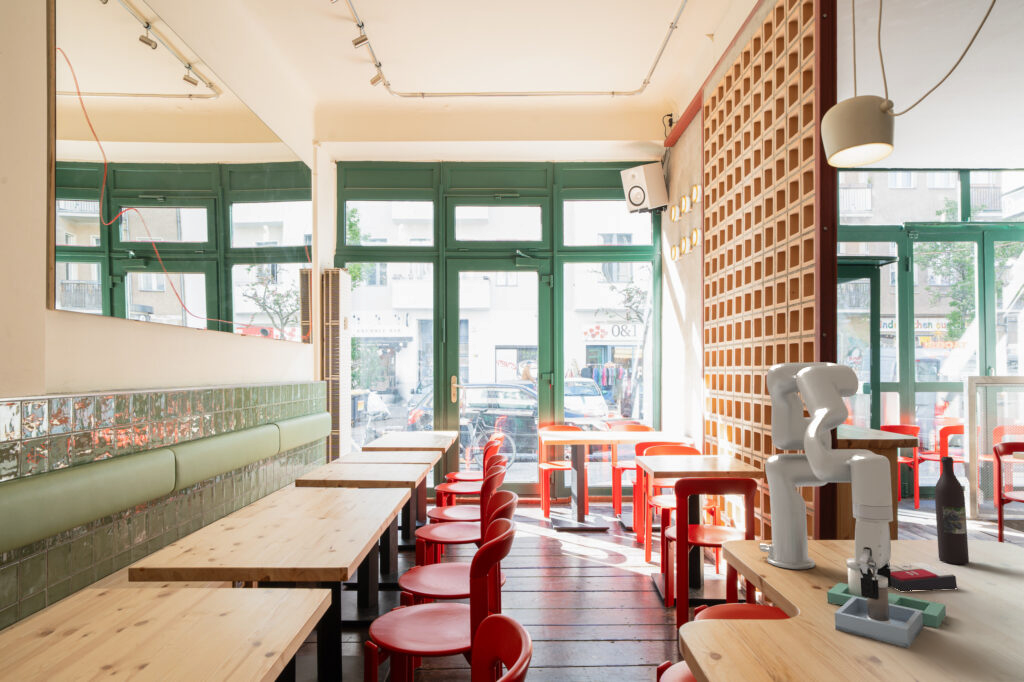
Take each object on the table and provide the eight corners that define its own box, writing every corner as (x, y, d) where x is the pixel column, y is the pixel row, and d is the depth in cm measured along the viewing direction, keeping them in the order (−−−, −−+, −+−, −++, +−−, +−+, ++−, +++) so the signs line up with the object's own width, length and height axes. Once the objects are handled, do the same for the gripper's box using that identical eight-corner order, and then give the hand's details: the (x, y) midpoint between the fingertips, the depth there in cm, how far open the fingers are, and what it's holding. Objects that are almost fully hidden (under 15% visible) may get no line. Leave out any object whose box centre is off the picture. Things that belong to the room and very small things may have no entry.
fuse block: (827, 602, 145) (827, 591, 145) (839, 592, 151) (839, 582, 151) (937, 627, 129) (937, 616, 129) (946, 615, 136) (945, 604, 136)
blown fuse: (865, 624, 130) (862, 577, 130) (870, 619, 132) (868, 572, 133) (887, 630, 127) (884, 581, 127) (892, 624, 130) (890, 577, 130)
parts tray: (835, 629, 130) (834, 612, 130) (854, 611, 139) (853, 596, 139) (908, 648, 120) (907, 630, 120) (923, 627, 130) (922, 610, 130)
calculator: (871, 565, 162) (923, 560, 163) (872, 581, 162) (925, 576, 163) (899, 578, 151) (956, 573, 152) (901, 596, 151) (958, 590, 152)
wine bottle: (942, 563, 172) (935, 458, 174) (936, 557, 179) (929, 455, 180) (972, 566, 169) (965, 459, 171) (964, 559, 176) (957, 455, 178)
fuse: (846, 603, 144) (844, 560, 145) (852, 598, 147) (850, 556, 147) (865, 607, 141) (863, 564, 142) (871, 602, 144) (869, 560, 144)
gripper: (864, 502, 140) (868, 577, 139) (841, 516, 128) (845, 598, 127) (902, 507, 135) (906, 585, 134) (881, 521, 122) (885, 607, 121)
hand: (876, 591), depth 130 cm, fingers open, 9 cm apart
